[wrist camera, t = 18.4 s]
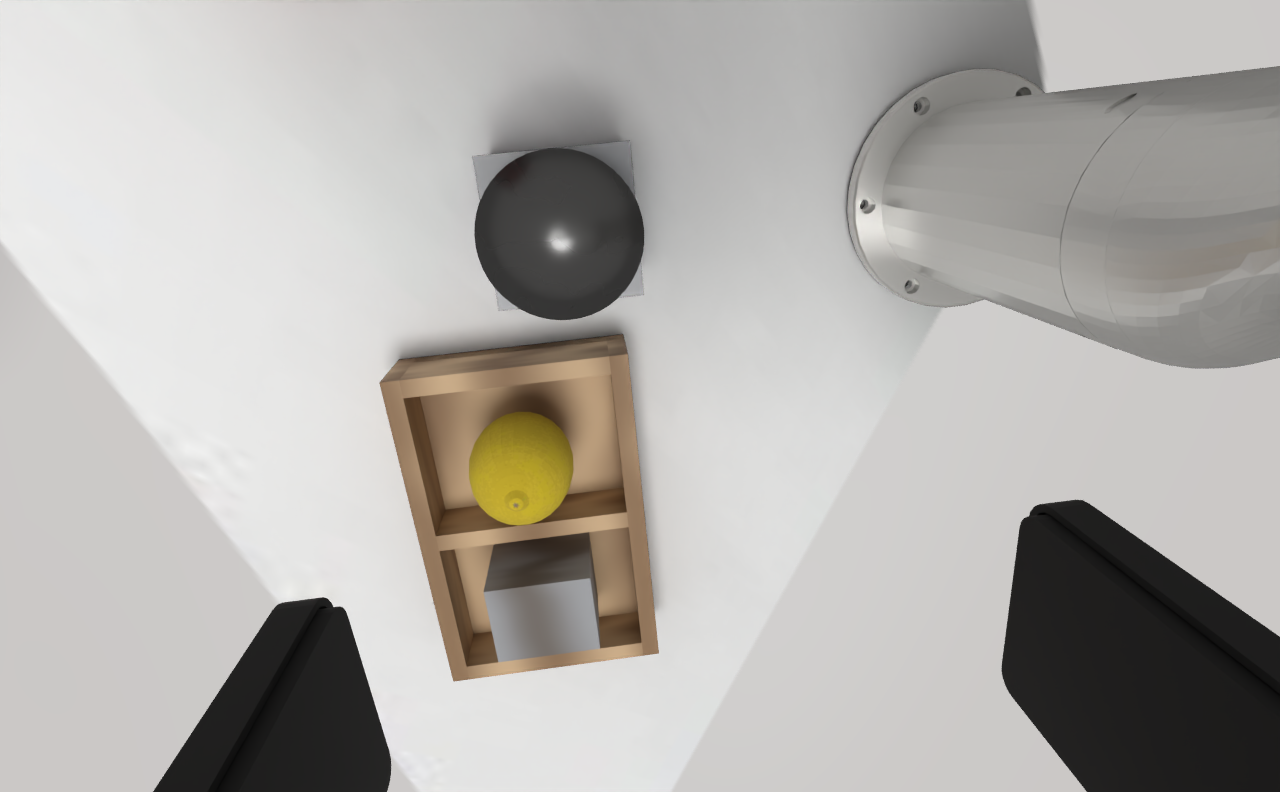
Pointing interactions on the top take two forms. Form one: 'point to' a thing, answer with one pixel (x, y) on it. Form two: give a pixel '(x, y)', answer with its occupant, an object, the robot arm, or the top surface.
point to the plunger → (559, 234)
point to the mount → (609, 153)
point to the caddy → (542, 551)
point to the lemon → (521, 468)
